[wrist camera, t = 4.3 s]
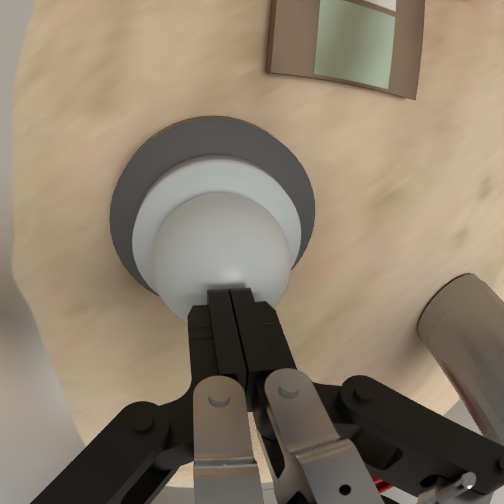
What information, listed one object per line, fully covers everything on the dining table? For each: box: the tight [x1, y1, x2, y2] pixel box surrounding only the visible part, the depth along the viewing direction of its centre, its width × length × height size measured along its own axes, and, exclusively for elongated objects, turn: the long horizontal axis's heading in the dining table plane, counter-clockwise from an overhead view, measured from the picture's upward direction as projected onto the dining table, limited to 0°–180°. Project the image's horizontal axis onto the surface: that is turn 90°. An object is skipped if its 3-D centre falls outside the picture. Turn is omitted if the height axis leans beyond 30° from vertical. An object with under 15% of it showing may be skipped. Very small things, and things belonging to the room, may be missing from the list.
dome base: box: [110, 116, 315, 296], centre depth 17 cm, size 11×11×2 cm
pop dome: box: [132, 155, 301, 324], centre depth 14 cm, size 8×8×6 cm
